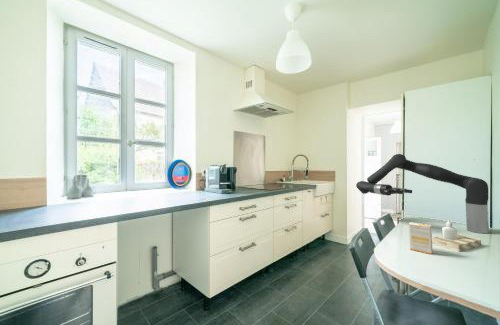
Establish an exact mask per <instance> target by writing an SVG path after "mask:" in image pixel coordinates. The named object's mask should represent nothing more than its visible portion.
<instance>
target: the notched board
mask: <svg viewBox="0 0 500 325" xmlns="http://www.w3.org/2000/svg"><path fill="white" fill-rule="evenodd" d="M432 245H435V246H439V247H443V248H445V249H449V250H452V251H455V252H458V253H459V252H462V251H467V250H469V249H473V248H474V249H475V248H477V247H480V246H482V239H481V238H478V237H477V238H476V237H472V236H467V235H464V234H459V233H457V240H454V241H453V240H449V239H445V238H442V237H441V236H434V237H432Z"/></svg>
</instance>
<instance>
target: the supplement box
mask: <svg viewBox="0 0 500 325" xmlns="http://www.w3.org/2000/svg"><path fill="white" fill-rule="evenodd" d="M408 229H409V230H408V234H409V249H410V250H411V251H414V252H415V251H416V252H420V253H425V254H428V255H432V254H433V244H432V238H433V236H432V224H425V223H420V222H413V221H410V222H409V223H408Z"/></svg>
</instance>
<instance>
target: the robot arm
mask: <svg viewBox="0 0 500 325" xmlns="http://www.w3.org/2000/svg"><path fill="white" fill-rule="evenodd" d="M395 169H400V170H404V171H408V172H412V173H414V174H417V175H420V176H423V177H425V178H427V179H432V180H435V181H438V182H443V183H447V184H452V185H455V186H457V187H460V188H462V189H465V200H464V202H465V218H466V222H465V223H466V230H467V231H469V232H473V233H477V234H490V225H489V207H488V206H489V205H488V204H489V184H488V183H487V181H485V180H484V179H482V178H479V177H472V176H467V175H464V174H460V173H457V172H453V171H452V170H449V169H446V168H443V167H440V166H438V165H435V164H430V163H423V162H417V161H416V162H415V161H412V160H409V159H407V158H406V156H405V155H404V154H402V153H397V154H394V155H392V156H391V158H390V159H388V161H386V162H385V164H384V165H382V166H380V168H379V169H378V170H376V171H375V172H374V173H371V175H370V176H368V177H367V179H366V180H367V181H364V180H360V181H358V182H357V183H356V185H355V187H356V188H357V189H358V191H359V192H361V193H362V194H364V195H365V194H369V193H370V194H377V195H380V196H381V195H382V196H391V195H396V194H397V195H398V194H399V195H403V194H413V190H412V189H407V188H401V187H393V186H392V185H391V184H385V183H384V184H383V183H382V184H381V183H380V181H382V180H383V179H384V178H385V177H386V176H387V175H388V174H390V173H391V172H392V171H394V170H395Z"/></svg>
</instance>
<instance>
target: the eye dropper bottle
mask: <svg viewBox="0 0 500 325" xmlns="http://www.w3.org/2000/svg"><path fill="white" fill-rule="evenodd" d="M441 232H442V234H441V236H442V238H445V239H449V240H453V241H454V240H457V234H458V230H457V229H456V228H455V227H453V222H451V219H450V220H448V219H447V221H446V222H445V226H443V227H442V228H441Z"/></svg>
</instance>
